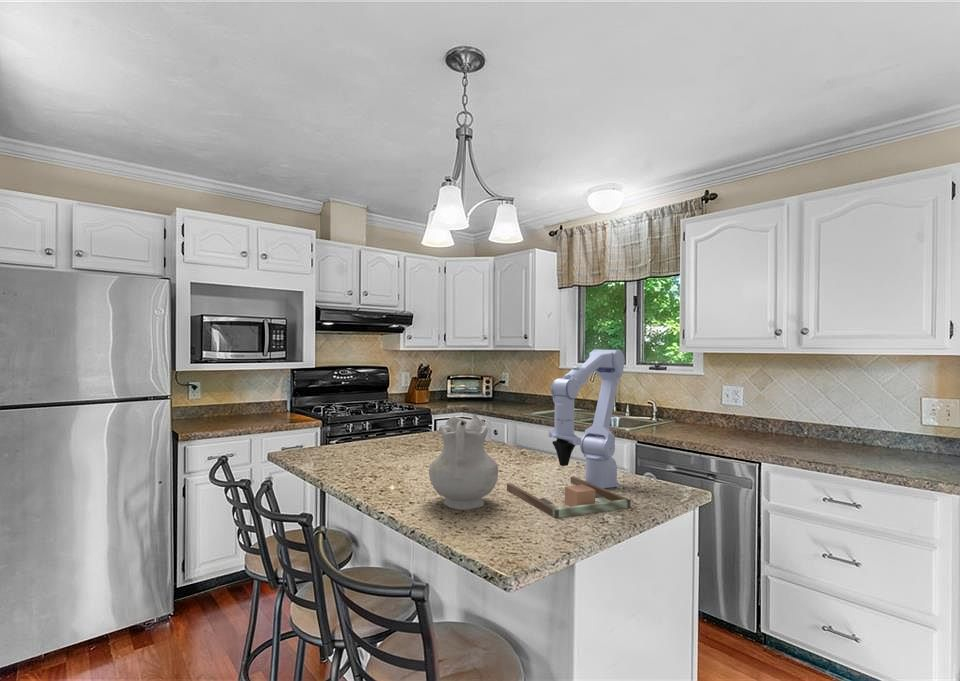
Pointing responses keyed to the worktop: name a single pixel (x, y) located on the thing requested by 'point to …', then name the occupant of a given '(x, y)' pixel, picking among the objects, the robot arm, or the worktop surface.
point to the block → (579, 495)
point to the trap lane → (556, 511)
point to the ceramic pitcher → (463, 464)
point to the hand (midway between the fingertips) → (563, 465)
